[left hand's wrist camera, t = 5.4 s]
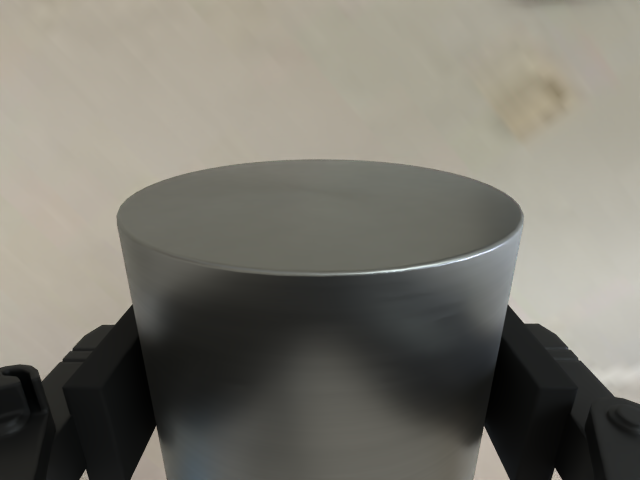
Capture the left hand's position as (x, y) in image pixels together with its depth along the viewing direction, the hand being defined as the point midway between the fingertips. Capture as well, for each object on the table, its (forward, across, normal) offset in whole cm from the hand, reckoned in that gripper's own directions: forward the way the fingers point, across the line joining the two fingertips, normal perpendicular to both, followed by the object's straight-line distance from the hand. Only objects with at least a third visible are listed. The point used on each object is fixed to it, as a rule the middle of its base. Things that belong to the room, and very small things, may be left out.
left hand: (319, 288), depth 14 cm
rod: (0, 0, -7) cm, 7 cm away
